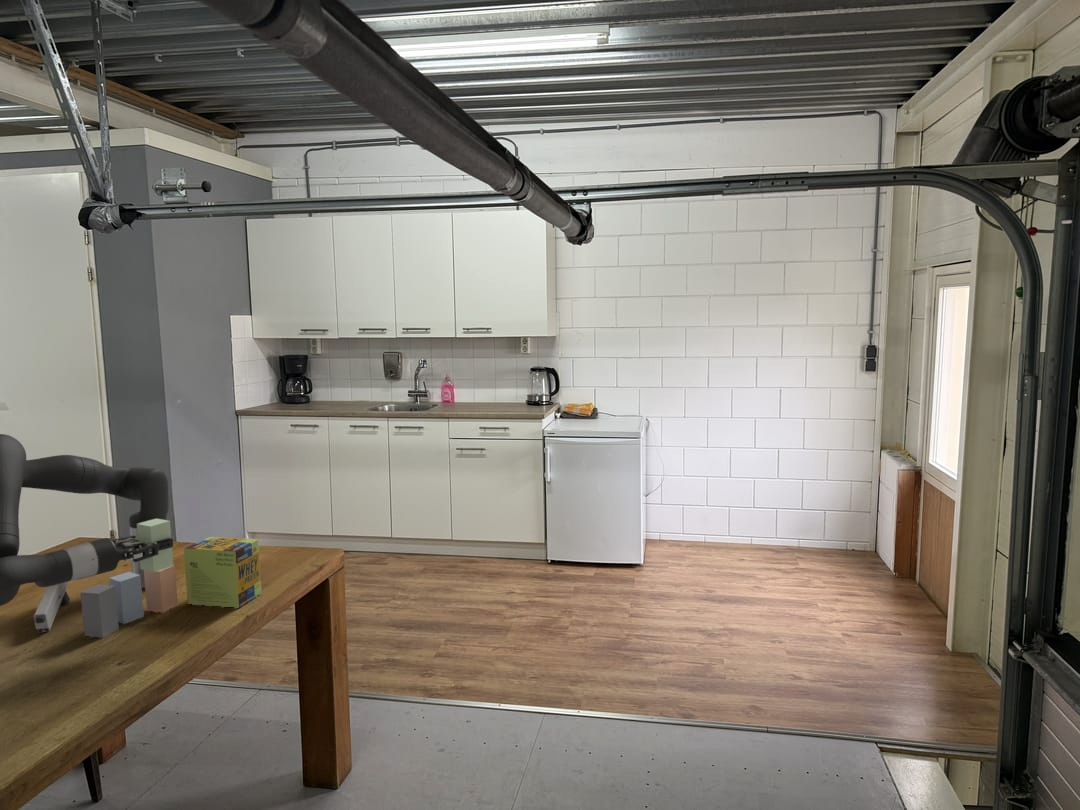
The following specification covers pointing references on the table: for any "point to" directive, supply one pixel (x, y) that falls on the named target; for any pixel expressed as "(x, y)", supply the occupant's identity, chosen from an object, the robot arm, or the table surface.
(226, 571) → the protein box
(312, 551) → the table surface
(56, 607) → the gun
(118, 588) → the slate block
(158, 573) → the terracotta block
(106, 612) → the grey tall block
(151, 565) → the sage block
